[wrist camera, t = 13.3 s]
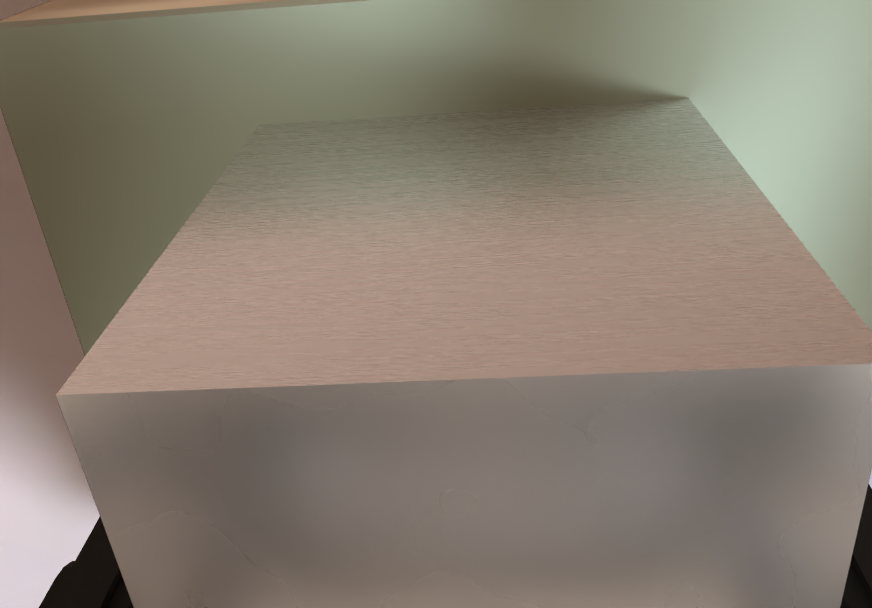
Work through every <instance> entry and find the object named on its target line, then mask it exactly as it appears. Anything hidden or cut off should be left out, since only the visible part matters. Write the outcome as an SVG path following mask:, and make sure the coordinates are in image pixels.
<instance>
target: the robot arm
mask: <svg viewBox="0 0 872 608" xmlns="http://www.w3.org/2000/svg"><path fill="white" fill-rule="evenodd" d="M39 608H134V607H133V604H132V601H131V598H130V596H129V593H128V590H127V588H126V585H125V582H124V579H123V577H122V574H121V571H120V568H119V566H118V563H117V560H116V558H115V555H114V552H113V549H112V547H111V544H110V541H109V539H108V536H107V533H106V530H105V528H104V525H103V522H102V520H101V517H99V519H98V521H97V523H96V525H95V526H94V528H93V530H92V532H91V534H90V535H89V537H88V539H87V541H86V543H85V544H84V546H83V548H82V550H81V552H80V553H79V555H78V557H77V559H76V561H72V562H70V563H69V564H68V565H66V566H65V567H63V569H62V570H61V572H60V573H59V574H58V576H57V577H56V578H55V580H54V582H53V584H52V585H51V587H50V589H49V591H48V593H47V594H46V596H45V598H44V600H43V601H42V603H41V605H40V607H39ZM840 608H872V489H871V487H870V485H869V484H868V487H867V492H866V496H865V501H864V505H863V509H862V514H861V518H860V523H859V527H858V531H857V536H856V540H855V545H854V549H853V553H852V558H851V562H850V566H849V571H848V575H847V580H846V584H845V588H844V593H843V597H842V602H841V606H840Z"/></svg>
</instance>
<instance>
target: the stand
mask: <svg viewBox="0 0 872 608" xmlns="http://www.w3.org/2000/svg"><path fill="white" fill-rule="evenodd" d="M679 98H689V99H690V100H691V102H692V103H693V104H694V105H695V107H696V108H697V109H698V110H699V112H700V113H701V114H702V116H703V117H704V118H705V119H706V121H707V122H708V123H709V125H710V126H711V127H712V128H713V130H714V131H715V132H716V133H717V135H718V136H719V137H720V139H721V140H722V141H723V142H724V144H725V145H726V146H727V147H728V149H729V150H730V151H731V153H732V154H733V155H734V156H735V158H736V159H737V160H738V162H739V163H740V164H741V165H742V167H743V168H744V169H745V170H746V172H747V173H748V174H749V176H750V177H751V178H752V179H753V181H754V182H755V183H756V185H757V186H758V187H759V188H760V190H761V191H762V192H763V193H764V195H765V196H766V197H767V199H768V200H769V201H770V202H771V204H772V205H773V206H774V208H775V209H776V210H777V211H778V213H779V214H780V215H781V216H782V218H783V219H784V220H785V222H786V223H787V224H788V225H789V227H790V228H791V229H792V230H793V232H794V233H795V234H796V236H797V237H798V238H799V239H800V241H801V242H802V243H803V245H804V246H805V247H806V248H807V250H808V251H809V252H810V253H811V255H812V256H813V257H814V259H815V260H816V261H817V262H818V264H819V265H820V266H821V268H822V269H823V270H824V271H825V273H826V274H827V275H828V276H829V278H830V279H831V280H832V282H833V283H834V284H835V285H836V287H837V288H838V289H839V291H840V292H841V293H842V294H843V296H844V297H845V298H846V299H847V301H848V302H849V303H850V305H851V306H852V307H853V308H854V310H855V311H856V312H857V313H858V315H859V316H860V317H861V319H862V320H863V321H864V322H865V324H866V325H867V326H868V328H869V329H870V330H871V331H872V0H51V1H49V2H46V3H44V4H41V5H38V6H36V7H33V8H31V9H28V10H26V11H23V12H21V13H18V14H16V15H13V16H11V17H8V18H5V19H3V20H0V107H1V110H2V113H3V116H4V119H5V122H6V125H7V128H8V131H9V134H10V137H11V140H12V143H13V146H14V148H15V151H16V154H17V157H18V160H19V163H20V166H21V169H22V172H23V175H24V178H25V181H26V184H27V187H28V190H29V193H30V196H31V199H32V202H33V205H34V207H35V210H36V213H37V216H38V219H39V222H40V225H41V228H42V231H43V234H44V237H45V240H46V243H47V246H48V249H49V252H50V255H51V258H52V261H53V263H54V266H55V269H56V272H57V275H58V278H59V281H60V284H61V287H62V290H63V293H64V296H65V299H66V302H67V305H68V308H69V311H70V314H71V317H72V319H73V322H74V325H75V328H76V331H77V334H78V337H79V340H80V343H81V346H82V349H83V352H84V355H85V356H86V354H87V353H88V352H89V350H90V349H91V348H92V346H93V345H94V344H95V342H96V341H97V340H98V338H99V337H100V336H101V334H102V333H103V332H104V330H105V329H106V328H107V326H108V325H109V324H110V322H111V321H112V320H113V318H114V317H115V316H116V314H117V313H118V312H119V310H120V309H121V308H122V306H123V305H124V304H125V302H126V301H127V300H128V298H129V297H130V296H131V294H132V293H133V292H134V290H135V289H136V288H137V286H138V285H139V284H140V282H141V281H142V280H143V278H144V277H145V276H146V274H147V273H148V272H149V270H150V269H151V268H152V266H153V265H154V264H155V263H156V261H157V260H158V259H159V257H160V256H161V255H162V253H163V252H164V251H165V249H166V248H167V247H168V245H169V244H170V243H171V241H172V240H173V239H174V237H175V236H176V235H177V233H178V232H179V231H180V229H181V228H182V227H183V225H184V224H185V223H186V221H187V220H188V219H189V217H190V216H191V215H192V213H193V212H194V211H195V209H196V208H197V207H198V205H199V204H200V203H201V201H202V200H203V199H204V197H205V196H206V195H207V193H208V192H209V191H210V189H211V188H212V187H213V185H214V184H215V183H216V181H217V180H218V179H219V177H220V176H221V175H222V173H223V172H224V171H225V169H226V168H227V167H228V166H229V164H230V163H231V162H232V160H233V159H234V158H235V156H236V155H237V154H238V152H239V151H240V150H241V148H242V147H243V146H244V144H245V143H246V142H247V140H248V139H249V138H250V136H251V135H252V134H253V132H254V131H255V130H256V128H257V127H258V126H259V125H271V124H286V123H302V122H318V121H333V120H349V119H365V118H381V117H396V116H412V115H428V114H443V113H459V112H475V111H490V110H506V109H522V108H538V107H553V106H569V105H585V104H600V103H616V102H632V101H648V100H663V99H679Z"/></svg>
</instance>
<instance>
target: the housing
mask: <svg viewBox="0 0 872 608" xmlns="http://www.w3.org/2000/svg"><path fill="white" fill-rule="evenodd" d="M56 397H57V400H58V403H59V405H60V408H61V411H62V413H63V416H64V419H65V422H66V424H67V427H68V430H69V433H70V435H71V438H72V441H73V443H74V446H75V449H76V452H77V454H78V457H79V460H80V462H81V465H82V468H83V471H84V473H85V476H86V479H87V481H88V484H89V487H90V490H91V492H92V495H93V498H94V500H95V503H96V506H97V509H98V511H99V514H100V517H101V520H102V522H103V525H104V528H105V530H106V533H107V536H108V539H109V541H110V544H111V547H112V549H113V552H114V555H115V558H116V560H117V563H118V566H119V568H120V571H121V574H122V577H123V579H124V582H125V585H126V588H127V590H128V593H129V596H130V598H131V601H132V604H133V607H134V608H840V606H841V602H842V597H843V593H844V588H845V584H846V580H847V575H848V571H849V566H850V562H851V558H852V553H853V549H854V545H855V540H856V536H857V531H858V527H859V523H860V518H861V514H862V509H863V505H864V501H865V496H866V492H867V487H868V483H869V479H870V474H871V470H872V331H871V330H870V329H869V328H868V326H867V325H866V324H865V322H864V321H863V320H862V319H861V317H860V316H859V315H858V313H857V312H856V311H855V310H854V308H853V307H852V306H851V305H850V303H849V302H848V301H847V299H846V298H845V297H844V296H843V294H842V293H841V292H840V291H839V289H838V288H837V287H836V285H835V284H834V283H833V282H832V280H831V279H830V278H829V276H828V275H827V274H826V273H825V271H824V270H823V269H822V268H821V266H820V265H819V264H818V262H817V261H816V260H815V259H814V257H813V256H812V255H811V253H810V252H809V251H808V250H807V248H806V247H805V246H804V245H803V243H802V242H801V241H800V239H799V238H798V237H797V236H796V234H795V233H794V232H793V230H792V229H791V228H790V227H789V225H788V224H787V223H786V222H785V220H784V219H783V218H782V216H781V215H780V214H779V213H778V211H777V210H776V209H775V208H774V206H773V205H772V204H771V202H770V201H769V200H768V199H767V197H766V196H765V195H764V193H763V192H762V191H761V190H760V188H759V187H758V186H757V185H756V183H755V182H754V181H753V179H752V178H751V177H750V176H749V174H748V173H747V172H746V170H745V169H744V168H743V167H742V165H741V164H740V163H739V162H738V160H737V159H736V158H735V156H734V155H733V154H732V153H731V151H730V150H729V149H728V147H727V146H726V145H725V144H724V142H723V141H722V140H721V139H720V137H719V136H718V135H717V133H716V132H715V131H714V130H713V128H712V127H711V126H710V125H709V123H708V122H707V121H706V119H705V118H704V117H703V116H702V114H701V113H700V112H699V110H698V109H697V108H696V107H695V105H694V104H693V103H692V102H691V100H690V99H689V98H679V99H663V100H648V101H632V102H616V103H600V104H585V105H569V106H553V107H538V108H522V109H506V110H490V111H475V112H459V113H443V114H428V115H412V116H396V117H381V118H365V119H349V120H333V121H318V122H302V123H286V124H271V125H259V126H258V127H257V128H256V130H255V131H254V132H253V134H252V135H251V136H250V138H249V139H248V140H247V142H246V143H245V144H244V146H243V147H242V148H241V150H240V151H239V152H238V154H237V155H236V156H235V158H234V159H233V160H232V162H231V163H230V164H229V166H228V167H227V168H226V169H225V171H224V172H223V173H222V175H221V176H220V177H219V179H218V180H217V181H216V183H215V184H214V185H213V187H212V188H211V189H210V191H209V192H208V193H207V195H206V196H205V197H204V199H203V200H202V201H201V203H200V204H199V205H198V207H197V208H196V209H195V211H194V212H193V213H192V215H191V216H190V217H189V219H188V220H187V221H186V223H185V224H184V225H183V227H182V228H181V229H180V231H179V232H178V233H177V235H176V236H175V237H174V239H173V240H172V241H171V243H170V244H169V245H168V247H167V248H166V249H165V251H164V252H163V253H162V255H161V256H160V257H159V259H158V260H157V261H156V263H155V264H154V265H153V266H152V268H151V269H150V270H149V272H148V273H147V274H146V276H145V277H144V278H143V280H142V281H141V282H140V284H139V285H138V286H137V288H136V289H135V290H134V292H133V293H132V294H131V296H130V297H129V298H128V300H127V301H126V302H125V304H124V305H123V306H122V308H121V309H120V310H119V312H118V313H117V314H116V316H115V317H114V318H113V320H112V321H111V322H110V324H109V325H108V326H107V328H106V329H105V330H104V332H103V333H102V334H101V336H100V337H99V338H98V340H97V341H96V342H95V344H94V345H93V346H92V348H91V349H90V350H89V352H88V353H87V354H86V356H85V357H84V358H83V360H82V361H81V362H80V363H79V365H78V366H77V367H76V369H75V370H74V371H73V373H72V374H71V375H70V377H69V378H68V379H67V381H66V382H65V383H64V385H63V386H62V387H61V389H60V390H59V391H58V393H57V394H56Z"/></svg>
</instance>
